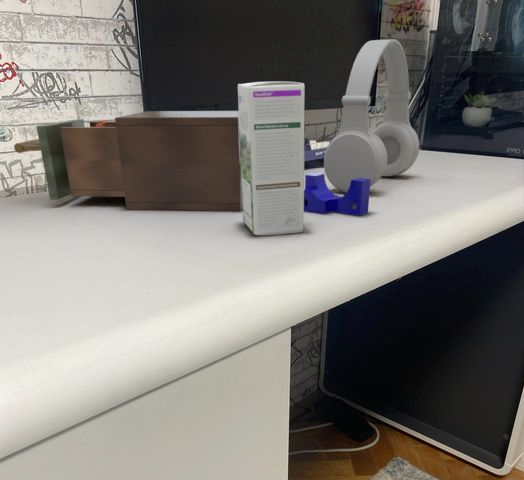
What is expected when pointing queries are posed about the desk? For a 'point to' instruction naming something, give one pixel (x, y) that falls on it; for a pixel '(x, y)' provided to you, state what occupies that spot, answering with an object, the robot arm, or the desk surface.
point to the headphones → (357, 122)
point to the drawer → (79, 158)
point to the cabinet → (181, 160)
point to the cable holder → (326, 201)
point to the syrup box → (272, 156)
